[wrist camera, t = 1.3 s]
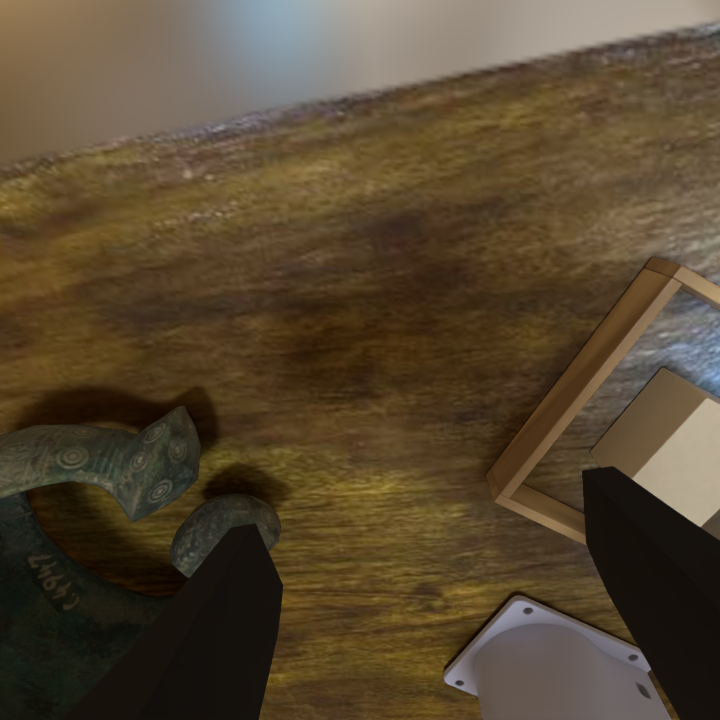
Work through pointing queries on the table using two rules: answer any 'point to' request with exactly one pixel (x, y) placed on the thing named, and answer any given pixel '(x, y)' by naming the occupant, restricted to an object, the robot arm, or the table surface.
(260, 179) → the table surface
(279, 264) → the table surface
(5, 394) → the table surface
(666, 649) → the robot arm
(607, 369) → the wooden frame
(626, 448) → the block
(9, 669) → the dark green rounded piece
